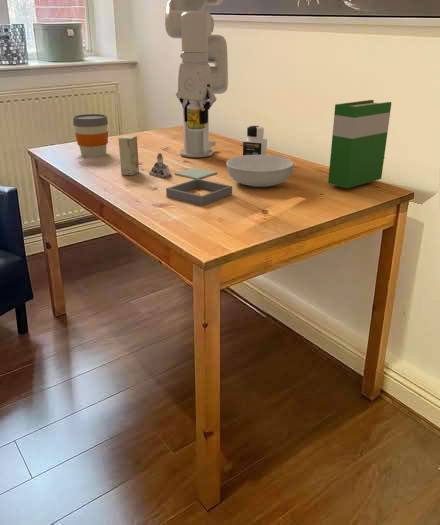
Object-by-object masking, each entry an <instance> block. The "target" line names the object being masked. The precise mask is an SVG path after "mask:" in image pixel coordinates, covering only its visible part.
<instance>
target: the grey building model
mask: <svg viewBox="0 0 440 525" xmlns="http://www.w3.org/2000/svg"><path fill="white" fill-rule="evenodd" d="M156 158H157V159H156V160H157V162H155V163H154V165H153V167H151V170H150V171H149V172H148V175H150V176H153V177H158V178H161V179H166V178H170V177H172V173H171V171H170V168H169V166H168V164H167V165H166V163H164V156H163V154H162V153H161V152H160V153H157V156H156Z"/></svg>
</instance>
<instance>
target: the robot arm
mask: <svg viewBox="0 0 440 525" xmlns="http://www.w3.org/2000/svg"><path fill="white" fill-rule="evenodd" d="M223 2H224V0H168V1H167V4H166V7H165V18H164V19H165V20H164V27H165V32H166V34H167V35H168V36H169V37H170V38H171V39H181V53H180V55H179V57H180V58H181V62H182V63H180V64H179V68H178V76H177V77H178V78H177V92H176V93H175V96H176V98H177V99H178V100H179V103H180V104H181V105H182V122H183V124H182V125H183V127H182V128H183V131H182V132H183V149H181V150H180V151H179V154H180V155H181V156H182V157H186V158H207V157H211V156H213V154H214V151H213V150H212V149H211V148H212V147H215V146H216V145H217V142H216V141H215V140H211V141H210V136H209V135H210V132H209V130H210V129H209V126H210V124H209V122H210V120H209V117H210V116H209V112H210V111H209V110H210V109H211V107H212V106H213V104H214V103H215V102H216V101H217V97H216V95H221V94H224V93H226V92H227V90H228V86H229V70H228V69H229V68H228V66H229V64H228V63H229V62H228V59H229V58H228V43H227V40H226V38H225V37H224V36H223V35H221V34H212V33H214V27H215V22H214V21H215V20H214V17H213V16H212V14H211V13H210V12H209V11H207V10H204V9H205V7H206V6H220V5H221V4H222V3H223ZM210 64H213V65H214V66H213V65H211V66H210ZM189 100H195V101H199V103H200V107H201V111H200V124H205V130H204V131H199V132H196V131H189V130H188V122H187V106H188V105H189V104H190V103H189Z"/></svg>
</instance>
